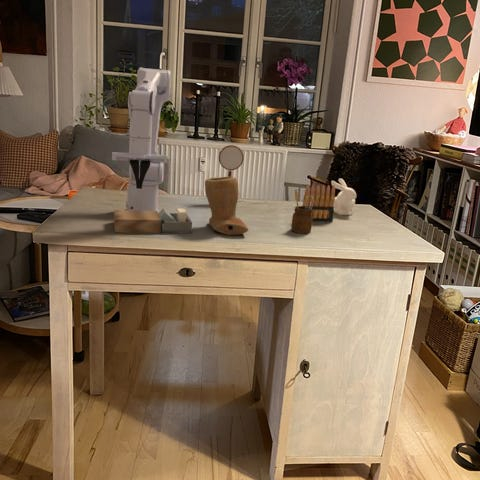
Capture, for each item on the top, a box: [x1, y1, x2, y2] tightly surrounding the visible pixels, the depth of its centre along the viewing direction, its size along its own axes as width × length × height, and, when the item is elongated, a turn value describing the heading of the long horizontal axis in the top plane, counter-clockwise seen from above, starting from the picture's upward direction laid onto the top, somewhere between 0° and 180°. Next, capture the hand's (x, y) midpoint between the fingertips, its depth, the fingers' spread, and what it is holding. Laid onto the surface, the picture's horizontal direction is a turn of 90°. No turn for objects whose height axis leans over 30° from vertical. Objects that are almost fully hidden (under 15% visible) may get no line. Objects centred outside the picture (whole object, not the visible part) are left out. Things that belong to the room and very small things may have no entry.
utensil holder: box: [290, 188, 315, 234], centre depth 148 cm, size 6×6×12 cm
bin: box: [161, 212, 193, 234], centre depth 140 cm, size 8×10×3 cm
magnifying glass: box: [218, 144, 245, 177], centre depth 176 cm, size 9×2×20 cm, turn 96°
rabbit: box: [330, 178, 357, 216], centre depth 178 cm, size 12×9×12 cm
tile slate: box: [159, 208, 176, 222], centre depth 139 cm, size 4×4×2 cm
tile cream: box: [176, 207, 188, 222], centre depth 140 cm, size 4×4×2 cm
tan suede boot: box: [204, 176, 249, 236], centre depth 142 cm, size 15×12×15 cm
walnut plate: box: [113, 209, 162, 234], centre depth 138 cm, size 12×10×4 cm
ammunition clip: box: [301, 183, 336, 223], centre depth 161 cm, size 11×2×12 cm, turn 103°
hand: (138, 188), depth 138 cm, fingers closed
